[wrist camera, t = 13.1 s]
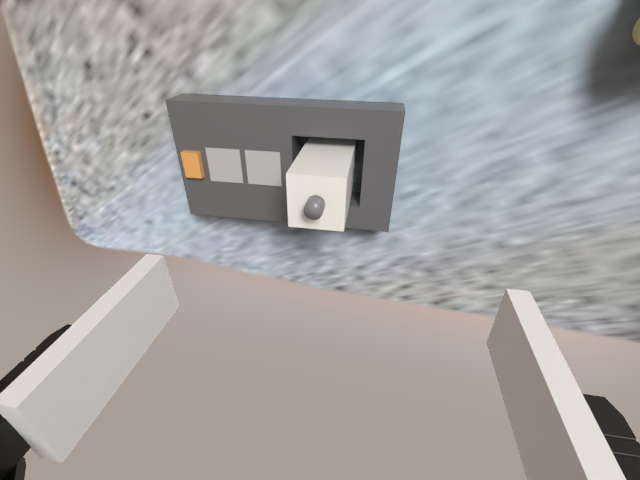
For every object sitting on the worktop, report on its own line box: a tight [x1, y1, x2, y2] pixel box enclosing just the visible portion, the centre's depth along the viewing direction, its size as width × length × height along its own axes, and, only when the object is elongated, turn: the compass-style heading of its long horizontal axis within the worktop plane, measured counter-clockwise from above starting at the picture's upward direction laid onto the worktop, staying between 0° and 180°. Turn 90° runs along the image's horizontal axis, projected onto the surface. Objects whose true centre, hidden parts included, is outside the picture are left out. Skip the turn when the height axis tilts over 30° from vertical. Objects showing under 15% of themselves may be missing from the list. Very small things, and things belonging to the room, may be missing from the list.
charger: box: [286, 138, 356, 232], centre depth 29 cm, size 4×4×10 cm
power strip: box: [166, 94, 405, 232], centre depth 32 cm, size 20×11×4 cm, turn 89°
